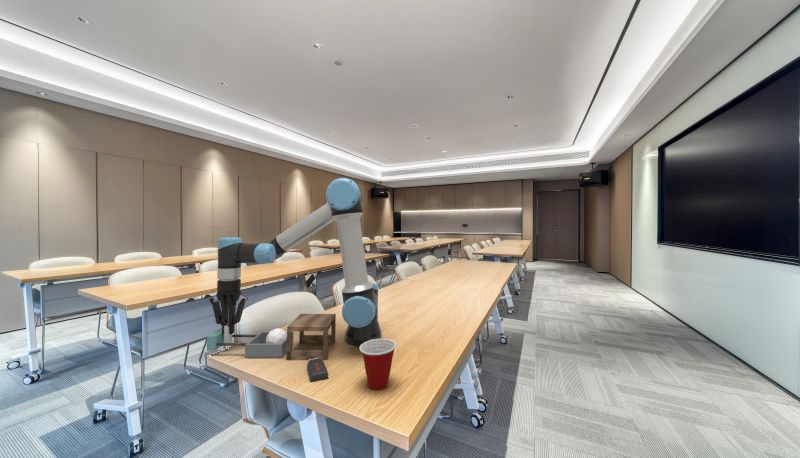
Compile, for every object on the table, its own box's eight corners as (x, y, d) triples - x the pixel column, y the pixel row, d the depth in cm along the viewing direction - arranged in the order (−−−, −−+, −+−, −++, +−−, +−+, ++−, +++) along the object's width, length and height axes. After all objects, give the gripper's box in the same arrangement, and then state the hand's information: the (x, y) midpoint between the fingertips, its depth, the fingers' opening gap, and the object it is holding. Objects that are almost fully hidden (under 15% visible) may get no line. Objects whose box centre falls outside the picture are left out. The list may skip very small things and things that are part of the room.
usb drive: (310, 383, 85) (310, 374, 85) (305, 365, 96) (305, 357, 96) (328, 380, 88) (328, 371, 88) (321, 363, 98) (321, 355, 98)
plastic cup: (359, 375, 90) (360, 337, 90) (394, 375, 90) (394, 337, 90) (357, 396, 79) (358, 352, 79) (396, 394, 80) (397, 351, 80)
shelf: (335, 342, 115) (335, 313, 115) (327, 359, 100) (327, 327, 100) (300, 342, 115) (300, 313, 115) (286, 360, 99) (287, 326, 99)
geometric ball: (278, 353, 110) (287, 333, 115) (285, 353, 105) (294, 331, 109) (259, 347, 107) (269, 326, 112) (265, 346, 102) (275, 323, 106)
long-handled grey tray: (293, 343, 113) (293, 326, 113) (281, 357, 101) (281, 338, 101) (223, 343, 112) (224, 326, 112) (203, 357, 100) (203, 338, 100)
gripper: (251, 277, 110) (250, 338, 110) (217, 277, 110) (216, 338, 110) (242, 281, 103) (240, 346, 103) (204, 280, 102) (203, 346, 102)
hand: (228, 342), depth 106 cm, fingers closed
